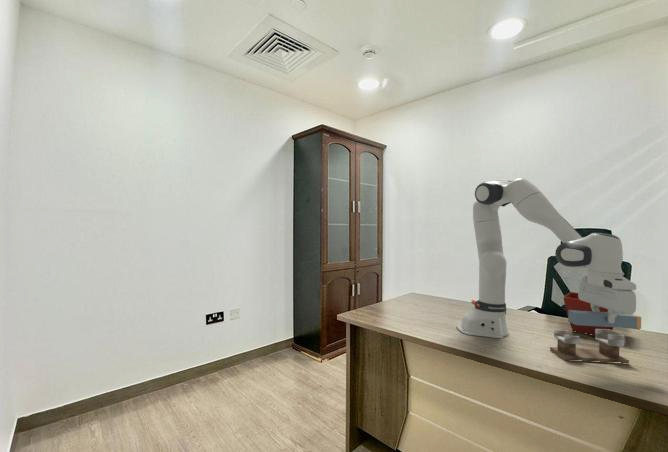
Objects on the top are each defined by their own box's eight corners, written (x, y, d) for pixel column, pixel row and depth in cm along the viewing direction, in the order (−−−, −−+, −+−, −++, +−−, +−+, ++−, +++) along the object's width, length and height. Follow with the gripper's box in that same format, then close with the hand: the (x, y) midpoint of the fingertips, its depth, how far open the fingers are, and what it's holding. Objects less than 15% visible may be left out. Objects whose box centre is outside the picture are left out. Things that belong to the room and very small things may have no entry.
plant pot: (569, 323, 154) (570, 291, 154) (620, 333, 140) (620, 297, 140) (562, 331, 141) (563, 296, 141) (618, 343, 127) (618, 304, 127)
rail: (576, 325, 100) (576, 313, 100) (568, 321, 104) (568, 310, 104) (641, 328, 98) (641, 316, 98) (630, 324, 102) (630, 313, 102)
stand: (565, 360, 109) (565, 333, 109) (550, 350, 118) (550, 325, 118) (629, 364, 107) (629, 336, 107) (608, 354, 116) (608, 328, 116)
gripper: (573, 274, 112) (572, 310, 112) (619, 285, 92) (618, 329, 92) (591, 275, 111) (590, 311, 111) (641, 286, 91) (640, 330, 91)
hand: (603, 320), depth 101 cm, fingers closed on rail, 4 cm apart
